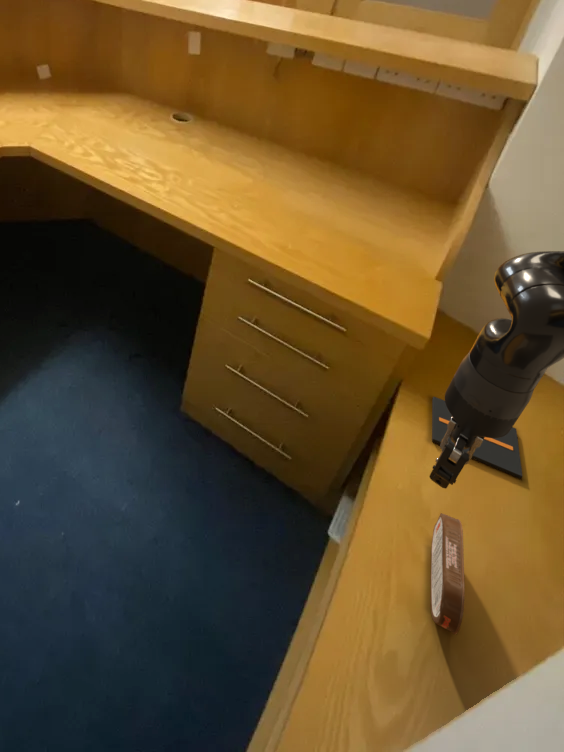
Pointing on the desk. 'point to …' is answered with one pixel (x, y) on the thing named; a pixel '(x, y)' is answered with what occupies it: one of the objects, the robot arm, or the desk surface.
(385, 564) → the desk surface
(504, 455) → the mat
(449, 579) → the tin
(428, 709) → the desk surface
